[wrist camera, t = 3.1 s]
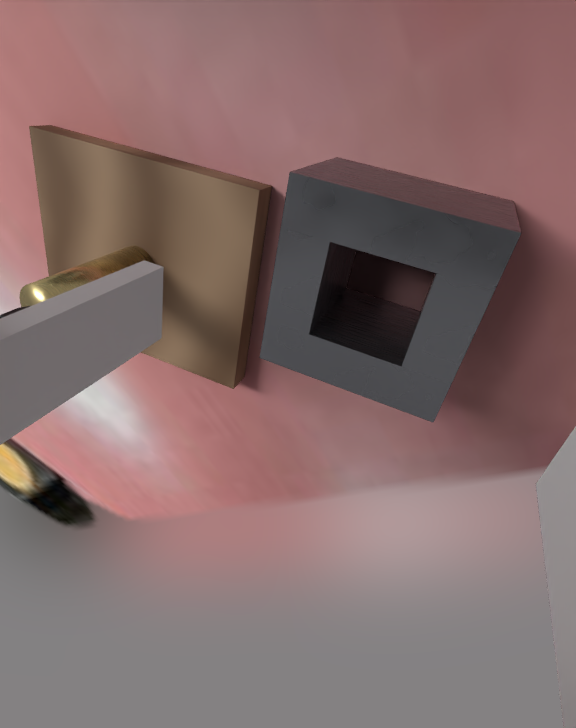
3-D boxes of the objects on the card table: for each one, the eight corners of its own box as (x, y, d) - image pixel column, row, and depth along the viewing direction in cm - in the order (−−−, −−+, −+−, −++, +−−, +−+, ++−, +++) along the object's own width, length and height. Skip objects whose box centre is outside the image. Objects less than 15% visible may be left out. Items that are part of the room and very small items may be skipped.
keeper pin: (121, 279, 27) (24, 323, 21) (120, 240, 26) (15, 277, 20) (155, 290, 27) (64, 340, 21) (155, 252, 25) (58, 293, 20)
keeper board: (71, 310, 32) (54, 318, 31) (51, 125, 26) (29, 126, 24) (244, 377, 29) (233, 389, 28) (271, 185, 22) (259, 190, 21)
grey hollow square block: (304, 309, 25) (259, 357, 20) (336, 157, 21) (289, 172, 16) (445, 357, 23) (433, 422, 18) (513, 201, 19) (521, 233, 14)
